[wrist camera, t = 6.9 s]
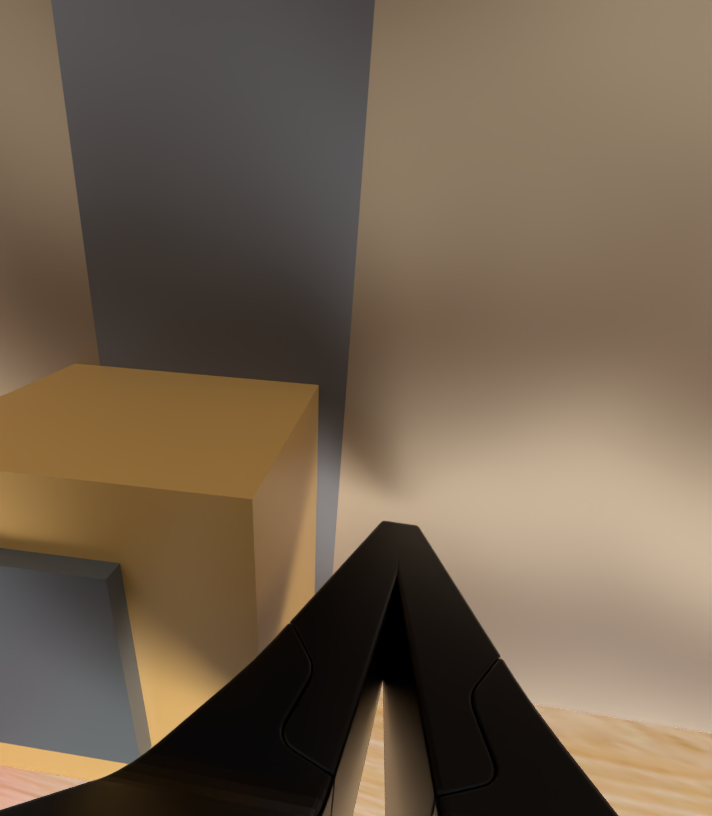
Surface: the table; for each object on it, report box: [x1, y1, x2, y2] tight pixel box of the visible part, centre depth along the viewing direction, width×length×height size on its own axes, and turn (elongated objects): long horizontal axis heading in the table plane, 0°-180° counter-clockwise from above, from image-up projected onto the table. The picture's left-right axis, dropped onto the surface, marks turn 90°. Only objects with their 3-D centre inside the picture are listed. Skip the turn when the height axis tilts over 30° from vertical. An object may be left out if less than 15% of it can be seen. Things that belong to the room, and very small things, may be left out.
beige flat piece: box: [0, 0, 712, 734], centre depth 9 cm, size 16×22×1 cm
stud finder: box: [0, 364, 319, 781], centre depth 9 cm, size 6×5×4 cm
